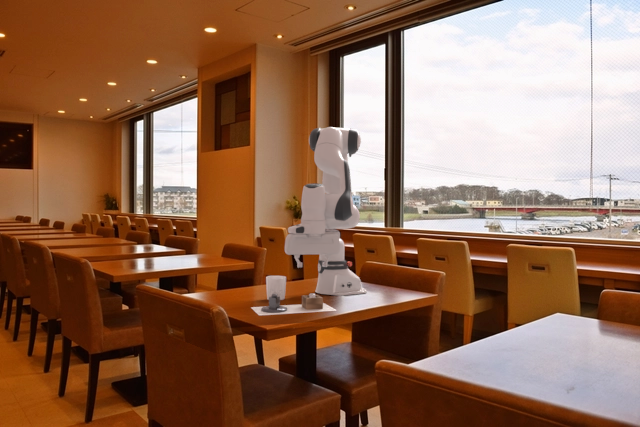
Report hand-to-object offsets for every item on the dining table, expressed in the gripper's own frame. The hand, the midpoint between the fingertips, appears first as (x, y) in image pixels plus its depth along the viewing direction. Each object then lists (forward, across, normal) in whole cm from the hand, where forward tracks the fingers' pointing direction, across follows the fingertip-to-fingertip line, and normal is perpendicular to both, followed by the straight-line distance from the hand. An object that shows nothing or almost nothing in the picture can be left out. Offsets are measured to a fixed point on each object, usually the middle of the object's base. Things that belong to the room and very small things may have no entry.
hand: (312, 267), depth 184 cm
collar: (+15, 0, 0) cm, 15 cm away
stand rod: (+15, 0, 0) cm, 15 cm away
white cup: (+16, +8, -21) cm, 28 cm away
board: (+16, +7, 0) cm, 17 cm away
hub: (+15, +14, 0) cm, 20 cm away
